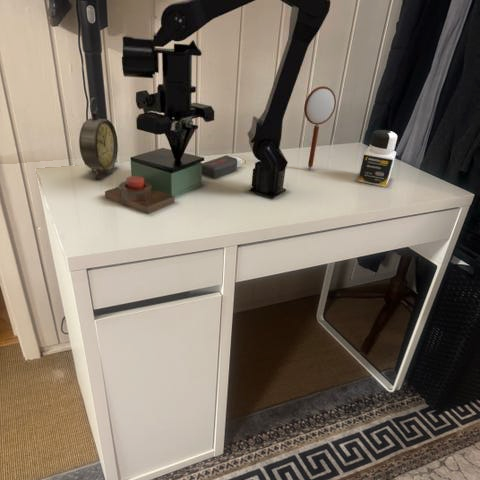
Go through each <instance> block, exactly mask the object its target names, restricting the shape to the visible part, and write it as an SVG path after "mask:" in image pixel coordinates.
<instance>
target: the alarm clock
mask: <svg viewBox="0 0 480 480" xmlns="http://www.w3.org/2000/svg"><path fill="white" fill-rule="evenodd" d="M93 101H94V103H95V111H93V109H92V105H93ZM89 110H90V114H92V117H91V118H88V119H86V120H85V121H84V122H83V123H82V125H81V128H80V131H79V135H78V136H79V138H78V145H79V152H80V156H81V158H82V162H83V163H84V164H85V165H86V167H87V168H89V169H90V170H91V172H93V171H95V175H96V176H95V180H99V175H100V171H104V172H109V171H111V170H112V169H113V168H115V165H116V162H117V159H118V153H119V145H118V136H117V132H116V131H117V130H116V128H115V126H114V124H113V123H112V122H111V121H110V120H109V119H107V118H99V117H98V116H97V114H98V101H97V99H96V98H95V97H92V98H91V99H90V102H89Z"/></svg>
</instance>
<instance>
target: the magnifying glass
mask: <svg viewBox="0 0 480 480" xmlns="http://www.w3.org/2000/svg"><path fill="white" fill-rule="evenodd" d="M336 104H337V100H336V95H335V93H334V90H332V89H331V87H328V86H318V87H316V88H314V89H313V90H311V92H310V93H309V94H308V95H307V97H306V98H305V102H304V107H303V110H304V116H305V118H306V120H307V121H308V122H309V123H310V124H312V125H314V126H313V133H312V139H311V145H310V149H309V150H310V151H309V158H308V163H307V167H308V168H307V169H308V171H311V170H312V167H313V166H314V160H315V154H316V147H317V143H318V138H319V137H318V136H319V132H320V131H319V130H320V126H319V125H322V124H324V123H326V122H327V121H329V120H330V118H332V116H333V114H334V112H335V109H336Z"/></svg>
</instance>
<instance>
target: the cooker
mask: <svg viewBox="0 0 480 480" xmlns="http://www.w3.org/2000/svg"><path fill="white" fill-rule="evenodd" d="M202 163H203V161H202V162H199V163H196V164H194V165H191V166H188V167H185V168H182V169H180V170H177V171H174V172H173V171H169V170H165V169H162V168H158V167H154V166H150V165H146V164H143V163H139V162H135V161H131V160H130V175H131V176H139V177H142V178H144V181H146V182H149V183H150V184H151V185H152V189H154V190H157V191H160V192H163V193H166V194H169V195H172V196H174V198H175V197H177V196H180V195H182V194H184V193H187V192H189V191H192V190H194V189H196V188H197V189H198V188H199V187H202V185H203V184H202V183H203V180H202V179H203V175H202Z"/></svg>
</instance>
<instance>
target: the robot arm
mask: <svg viewBox="0 0 480 480" xmlns="http://www.w3.org/2000/svg"><path fill="white" fill-rule="evenodd" d="M255 1H256V0H181V1H176V2H172V3H170V4H168V5H167V6H166V7H165V8H164V9H163V11H162V14H161V16H160V27H159V29H158V30H157V32H154V33H153V36H152V37H153V38H146V37H145V38H143V37H134V36H131V35H124V36H123V37H122V56H121V66H122V68H121V69H122V75H123V77H124V78H126V77H127V78H143V79H154V75H156V74H159V73H160V57H159V56H160V55H159V54H161V72H162V73H161V76H162V77H161V78H162V83H159V84H157V86H156V92H154V93H149V91H148V90H140V91H136V92H135V104H136V107H137V109H139V110H143V113H139V114H138V115H137V117H136V118H135V121H136V130H139V131H142V132H144V133H145V132H146V133H149V134H153V135H165V137H166V139H167V142H168V145H169V147H170V150H172V153H173V156H174V159H175V160H181V158H182V156H183V153H185V151H186V150H187V147H188V145H189V144H190V141H191V139H192V138H193V136H194V134H195V133H196V130H197V129H199V125H197V124H194V120H193V119H197V118H201V119H202V120H203V121H204V122H205V123H209V122H213V121H215V110H214V107H213V106H212V105H208V104H204V103H199V102H192V94H194V93H196V92H197V86H195V85H193V83H192V82H193V81H192V80H193V79H192V78H193V76H192V75H193V74H192V73H193V71H192V70H193V57H201V56H202V53H203V52H202V50H201V48H199V47H198V46H197V44H196V42H195V40H194V39H192V40H191V41H190V42H189V43H187V44H186V43H180V42H183V41H185V40H186V39H188V38H189V37H191V36H192V35H194V34H195V33H196V32H198V31H200V29H202V28H203V27H204V26H206V25H207V24H208V23H210V22H211V21H212V20H214V19H216V18H219V17H221V16H223V15H226V14H228V13H230V12H232V11H235V10H237V9H239V8H241V7H244V6H246V5H248V4H250V3H252V2H255ZM280 2H282V3H284V4H285V5H288V6H289V7H291V10H290V16H289V26H288V35H287V41H286V44H285V46H284V49H283V53H282V56H281V59H280V62H279V65H278V68H277V71H276V75H275V77H274V81H273V83H272V86H271V90H270V94H269V97H268V99H267V102H266V105H265V109H264V111H263V112H262V114H261V115H260V117H259V118H258V117H257V116H252V120H251V126H250V129H249V131H248V132H247V135H246V136H248V144H249V147H250V150H251V152H252V154H253V156H254V158H255V159H257V162H255V163H254V168H252V175H251V187H250V188H249V189H248V191H249V192H250V193H253V194H257V195H260V196H263V197H266V198H270V199H275V198H277V197H278V196H280V195H282V194H284V193H285V192H287V189H286V188H284V184H285V177H286V169H287V166H288V163H289V162H288V160H287V159H286V157H285V154H284V153H283V152H282V150H281V149H280V146H281V140H282V136H283V135H282V134H283V124H284V123H283V121H284V117H285V115H286V111H287V108H288V105H289V103H290V101H291V97H292V94H293V92H294V89H295V85H296V84H297V80H298V77H299V75H300V72H301V68H302V66H303V63H304V60H305V57H306V54H307V51H308V48H309V46H310V44H311V43H312V41H313V40H314V38H315V37H316V36H317V34H318V33H319V31H320V29H321V27H322V26H323V24H324V22H325V20H326V18H327V16H328V14H329V12H330V9H331V0H280ZM172 41H173V42H177V43H173V48H164V47H166V46H167V45H168V44H170V43H171V42H172ZM178 42H179V43H178Z"/></svg>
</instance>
